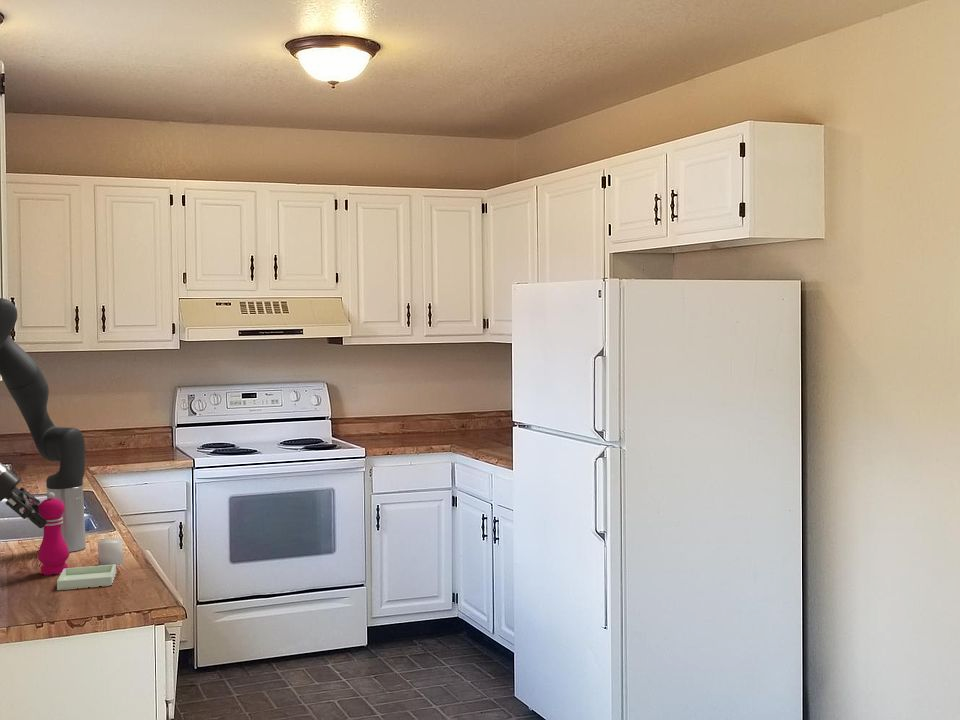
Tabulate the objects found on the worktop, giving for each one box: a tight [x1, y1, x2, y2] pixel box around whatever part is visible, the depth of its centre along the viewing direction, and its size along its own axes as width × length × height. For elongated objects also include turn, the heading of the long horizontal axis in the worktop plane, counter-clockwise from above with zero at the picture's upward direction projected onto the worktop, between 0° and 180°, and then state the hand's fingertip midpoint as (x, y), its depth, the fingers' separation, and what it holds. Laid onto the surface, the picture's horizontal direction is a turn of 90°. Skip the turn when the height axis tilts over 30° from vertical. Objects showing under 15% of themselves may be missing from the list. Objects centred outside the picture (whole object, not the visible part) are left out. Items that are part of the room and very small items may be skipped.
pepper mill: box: [37, 492, 70, 576], centre depth 266 cm, size 7×7×20 cm
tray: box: [56, 564, 117, 591], centre depth 257 cm, size 13×12×2 cm
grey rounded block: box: [97, 538, 124, 566], centre depth 274 cm, size 6×6×6 cm
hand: (47, 522), depth 266 cm, fingers open, 8 cm apart
